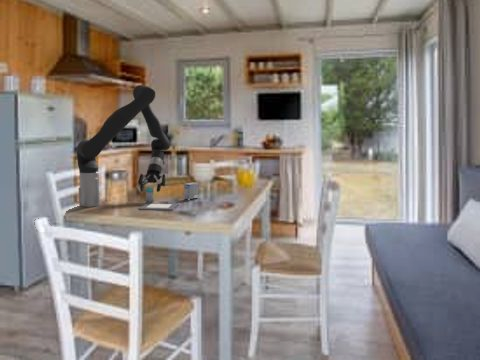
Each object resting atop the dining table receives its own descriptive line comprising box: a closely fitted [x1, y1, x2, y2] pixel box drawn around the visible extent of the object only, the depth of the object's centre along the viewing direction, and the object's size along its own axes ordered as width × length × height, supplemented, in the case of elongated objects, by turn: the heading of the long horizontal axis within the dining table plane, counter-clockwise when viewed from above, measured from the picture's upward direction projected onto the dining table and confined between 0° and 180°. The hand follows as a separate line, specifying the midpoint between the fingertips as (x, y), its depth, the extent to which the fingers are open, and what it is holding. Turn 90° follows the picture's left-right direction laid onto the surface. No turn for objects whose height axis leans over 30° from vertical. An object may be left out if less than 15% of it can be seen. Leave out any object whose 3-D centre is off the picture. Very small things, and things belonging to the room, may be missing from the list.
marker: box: [145, 186, 155, 204], centre depth 243 cm, size 4×4×8 cm
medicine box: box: [183, 182, 200, 200], centre depth 254 cm, size 8×4×9 cm, turn 144°
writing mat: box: [138, 202, 179, 211], centre depth 231 cm, size 17×13×1 cm
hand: (149, 191), depth 243 cm, fingers open, 8 cm apart
